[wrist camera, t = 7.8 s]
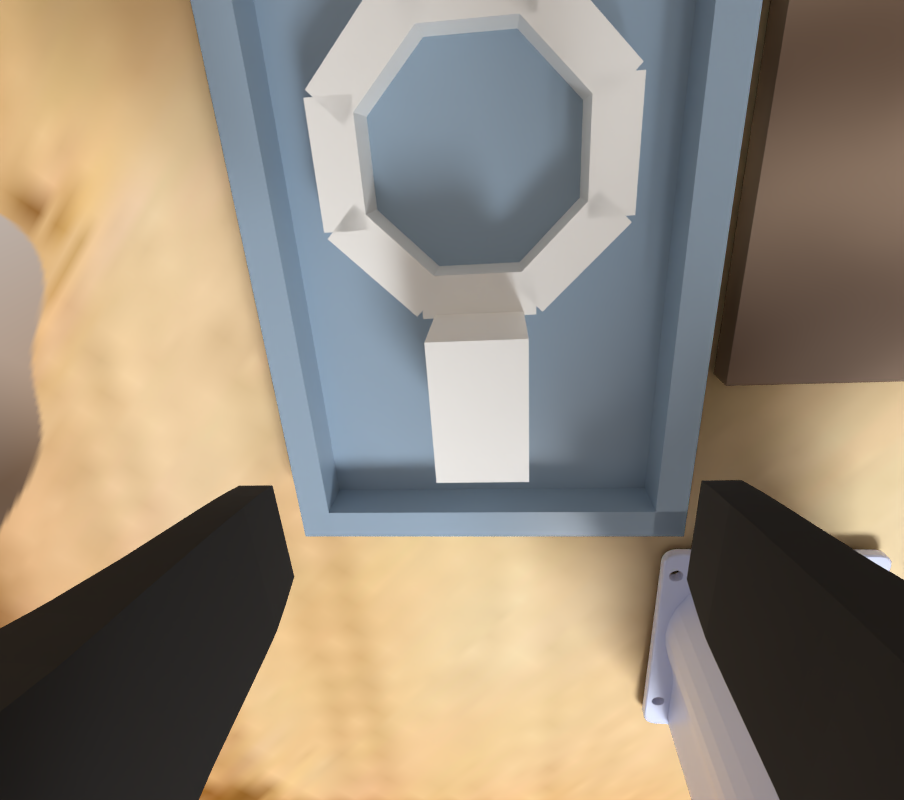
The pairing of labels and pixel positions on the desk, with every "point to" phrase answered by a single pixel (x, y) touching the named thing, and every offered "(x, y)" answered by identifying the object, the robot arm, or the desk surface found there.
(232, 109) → the tray
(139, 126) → the desk surface
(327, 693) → the desk surface
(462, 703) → the desk surface
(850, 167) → the stake board
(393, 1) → the ring
